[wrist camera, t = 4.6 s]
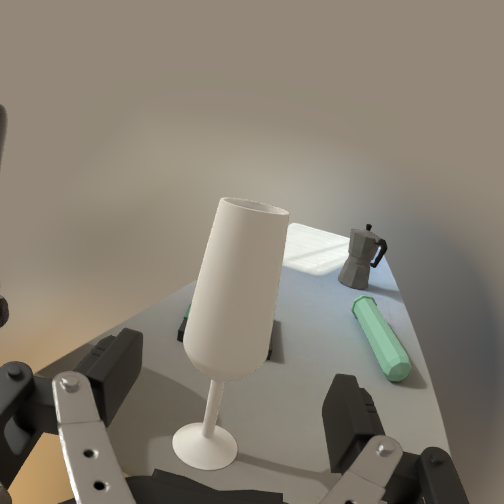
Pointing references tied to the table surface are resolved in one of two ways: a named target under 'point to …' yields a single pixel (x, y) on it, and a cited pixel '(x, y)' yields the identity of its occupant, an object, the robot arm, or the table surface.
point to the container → (381, 339)
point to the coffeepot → (361, 258)
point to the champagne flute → (231, 316)
